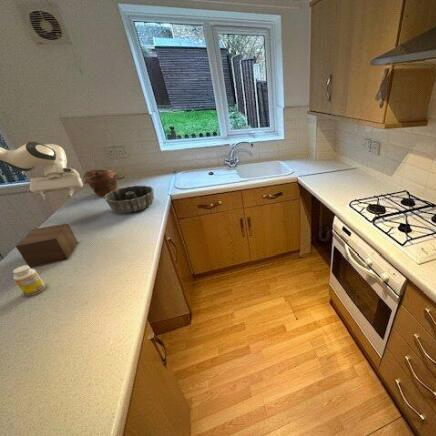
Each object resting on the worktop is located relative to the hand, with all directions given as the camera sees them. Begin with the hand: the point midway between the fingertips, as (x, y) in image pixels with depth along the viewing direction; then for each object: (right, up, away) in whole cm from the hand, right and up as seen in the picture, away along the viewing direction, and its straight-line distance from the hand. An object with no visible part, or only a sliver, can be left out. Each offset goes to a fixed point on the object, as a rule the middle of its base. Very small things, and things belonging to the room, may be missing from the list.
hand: (58, 197), depth 121 cm
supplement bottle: (+24, -37, -33) cm, 55 cm away
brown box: (+11, -27, -12) cm, 31 cm away
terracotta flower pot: (-17, +7, +54) cm, 57 cm away
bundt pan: (+18, -3, +32) cm, 37 cm away
